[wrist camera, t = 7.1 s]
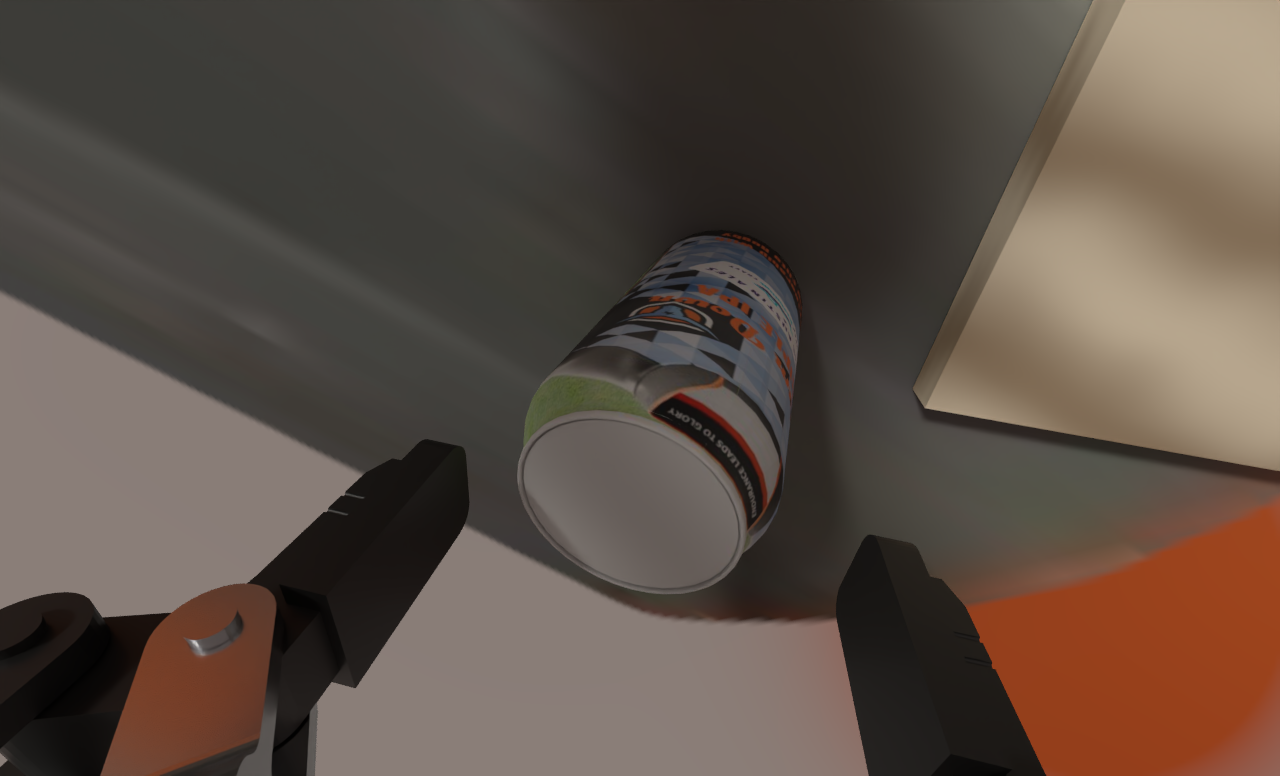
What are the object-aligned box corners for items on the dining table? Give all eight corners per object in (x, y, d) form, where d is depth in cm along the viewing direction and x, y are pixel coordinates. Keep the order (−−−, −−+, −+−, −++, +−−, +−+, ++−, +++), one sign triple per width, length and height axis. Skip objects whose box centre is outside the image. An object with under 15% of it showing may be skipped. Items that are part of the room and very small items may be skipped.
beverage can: (821, 332, 19) (921, 585, 9) (662, 400, 22) (597, 652, 12) (754, 184, 17) (780, 292, 7) (587, 281, 20) (425, 462, 9)
